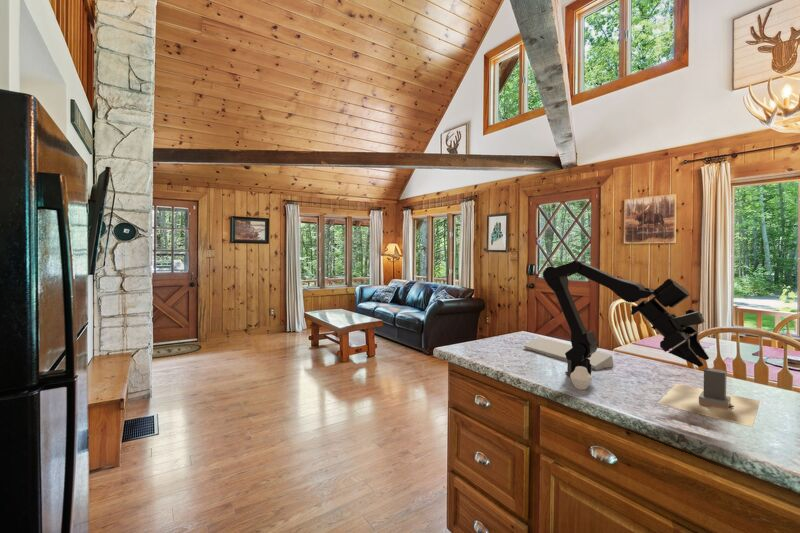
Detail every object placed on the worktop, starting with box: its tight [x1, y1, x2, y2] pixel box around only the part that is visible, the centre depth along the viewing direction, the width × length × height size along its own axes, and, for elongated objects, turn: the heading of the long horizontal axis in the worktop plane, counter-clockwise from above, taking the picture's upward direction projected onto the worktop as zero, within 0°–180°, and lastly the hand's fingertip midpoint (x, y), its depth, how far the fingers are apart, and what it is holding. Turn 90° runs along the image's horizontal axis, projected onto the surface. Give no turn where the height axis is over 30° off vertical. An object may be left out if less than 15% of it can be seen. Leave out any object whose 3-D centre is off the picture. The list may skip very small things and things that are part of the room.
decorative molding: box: [523, 336, 614, 371], centre depth 154 cm, size 34×5×10 cm
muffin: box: [569, 366, 593, 391], centre depth 119 cm, size 6×6×7 cm
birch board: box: [657, 383, 760, 428], centre depth 104 cm, size 20×24×2 cm
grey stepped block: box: [699, 367, 731, 410], centre depth 103 cm, size 6×6×9 cm
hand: (704, 362), depth 105 cm, fingers open, 9 cm apart
